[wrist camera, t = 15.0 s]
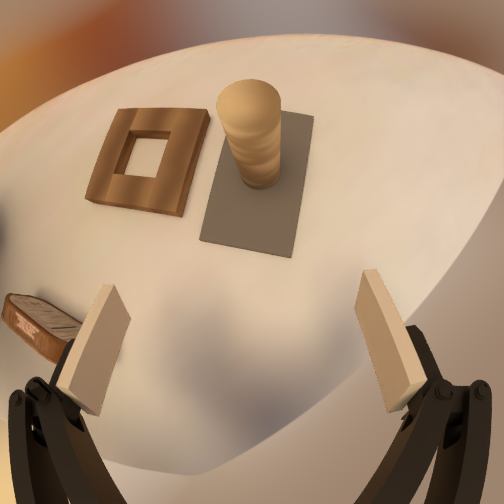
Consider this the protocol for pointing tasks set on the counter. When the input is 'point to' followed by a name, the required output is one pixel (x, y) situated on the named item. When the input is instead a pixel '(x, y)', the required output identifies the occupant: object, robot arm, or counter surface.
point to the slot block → (171, 167)
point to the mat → (260, 196)
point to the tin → (40, 324)
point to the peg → (253, 130)
